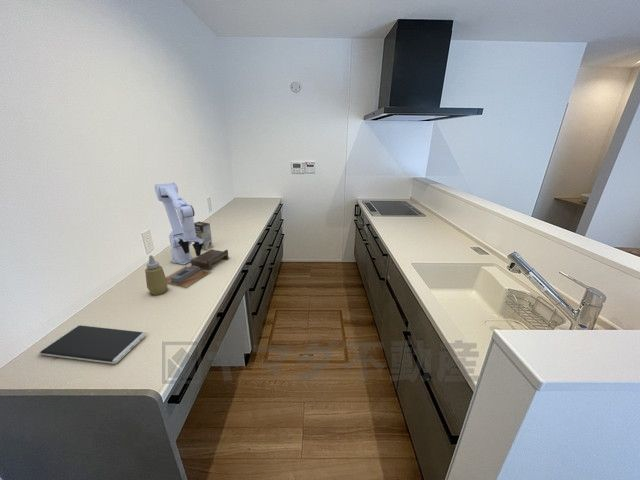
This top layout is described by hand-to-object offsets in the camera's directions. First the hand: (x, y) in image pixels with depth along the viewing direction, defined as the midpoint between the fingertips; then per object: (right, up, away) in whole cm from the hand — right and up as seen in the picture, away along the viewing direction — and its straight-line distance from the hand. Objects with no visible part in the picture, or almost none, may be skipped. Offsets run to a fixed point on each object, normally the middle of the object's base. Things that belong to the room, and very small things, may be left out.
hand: (192, 254), depth 136 cm
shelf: (+4, -5, +12) cm, 14 cm away
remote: (-2, -11, -4) cm, 12 cm away
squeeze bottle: (-7, -16, -16) cm, 24 cm away
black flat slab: (-10, -28, -48) cm, 56 cm away
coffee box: (-8, +2, +32) cm, 33 cm away
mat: (-2, -11, -3) cm, 12 cm away
